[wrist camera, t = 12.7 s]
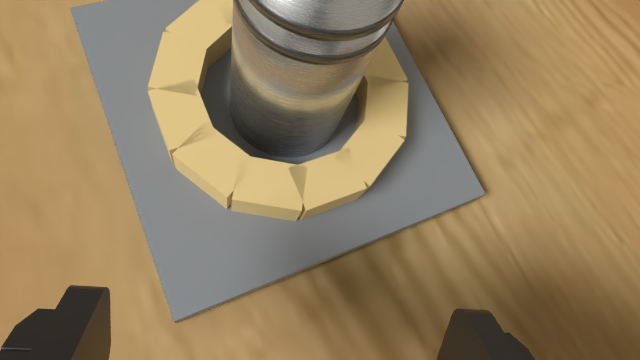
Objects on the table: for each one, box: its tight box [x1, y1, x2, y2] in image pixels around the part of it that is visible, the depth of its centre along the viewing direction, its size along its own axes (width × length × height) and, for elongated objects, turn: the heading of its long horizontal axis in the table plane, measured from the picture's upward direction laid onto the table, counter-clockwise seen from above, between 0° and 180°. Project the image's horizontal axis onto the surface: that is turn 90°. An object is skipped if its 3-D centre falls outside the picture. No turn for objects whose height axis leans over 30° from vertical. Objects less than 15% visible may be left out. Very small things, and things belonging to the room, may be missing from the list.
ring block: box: [70, 0, 485, 323], centre depth 20 cm, size 14×14×2 cm
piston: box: [230, 0, 404, 158], centre depth 16 cm, size 5×5×10 cm
